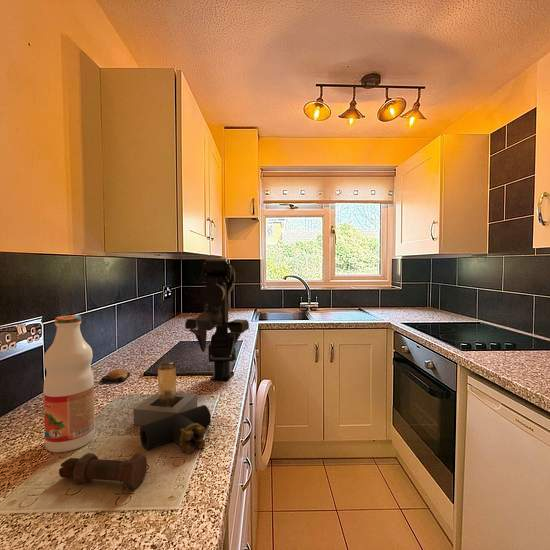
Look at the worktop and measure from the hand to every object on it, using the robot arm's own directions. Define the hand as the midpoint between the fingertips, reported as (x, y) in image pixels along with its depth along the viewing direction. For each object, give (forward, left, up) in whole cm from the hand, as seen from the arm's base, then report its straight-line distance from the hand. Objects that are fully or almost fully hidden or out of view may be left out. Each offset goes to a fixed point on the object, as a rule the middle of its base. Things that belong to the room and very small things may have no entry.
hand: (217, 352), depth 96 cm
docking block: (+15, -8, -13) cm, 21 cm away
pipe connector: (+25, +2, -14) cm, 29 cm away
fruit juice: (+30, -23, -13) cm, 40 cm away
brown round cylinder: (+15, -8, -13) cm, 21 cm away
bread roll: (-7, -40, -14) cm, 43 cm away
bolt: (+40, -7, -13) cm, 43 cm away
